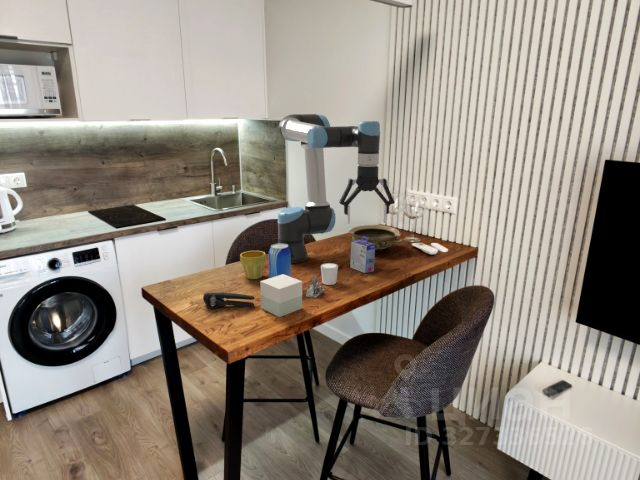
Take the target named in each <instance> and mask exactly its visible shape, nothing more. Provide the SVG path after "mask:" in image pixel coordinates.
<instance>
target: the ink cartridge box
mask: <svg viewBox="0 0 640 480" xmlns="http://www.w3.org/2000/svg"><path fill="white" fill-rule="evenodd" d="M363 238H366V239H367V240H363ZM368 238H369V237H366V236H363V237H362V239H361V240H355V241H353V240H352V241H351V245H350V267H349V268H351V269H353V270H356V271H358V272H361V273H364V274H369V273H372V272H374V271H375V258H376V257H375V255H376V254H375V253H376V252H375V244H373V243H370V242H367V241H368Z"/></svg>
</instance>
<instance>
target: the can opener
mask: <svg viewBox="0 0 640 480" xmlns="http://www.w3.org/2000/svg"><path fill="white" fill-rule="evenodd" d="M202 298H203V302H204V304H205V305H206V306H207V307H208V308H210V309H217V308H219V307H222V306H233V307H244V308H248V307H249V308H251V307H254V306H255V303H254V302H252V301H253V300H255V299H256V297H255V296H254V295H249V294H243V293H233V292H224V291H220V292H206V293H204V294H203V297H202ZM241 300H242V301H241ZM243 300H248V301H243ZM250 301H251V302H250Z"/></svg>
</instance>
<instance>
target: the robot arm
mask: <svg viewBox="0 0 640 480" xmlns="http://www.w3.org/2000/svg"><path fill="white" fill-rule="evenodd" d="M380 124H381V123H380V122H379V121H377V120H373V121H370V120H361V121H359V123H358V126H356V125H347V126H345V125H343V126H331V125H330V121H329V119H328V118H327V117H326V115H323V114H317V113H315V114H314V113H313V114H312V113H311V114H309V113H308V114H307V113H306V114H300V113H299V114H298V113H297V114H295V113H294V114H293V113H292V114H288V115H287V116H285V117H283V118H282V119H281V120H280V121H279V124H278V128H277V129H278V134H279V136H280V137H281V138H283V140H287V141H288V142H289V141H291V142H300V146H301V147H302V148H303V150H304V161H305V174H306V175H305V177H306V190H307V202H306V204H305V205H304V208H303V207H301V206H292V207H286V208H283V209H281V210H280V211H279V212H278V214H277V231H278V232H277V238H278V243H277V244H279V243H282V244H287V245H288V248H289V249H290V251H291V264H298V263H302V262H305V261H307V260H308V259H309V253H308V250H307V248H306V244H305V239H304V238H305V236H311V235H318V234H321V235H322V234H326V233H327V234H328V233H330V232H332V231H333V230H334V228H335V225H336V219H337V217H336V213H335V210H334V208H332V207H331V204H330V203H329V202H328V201H327V190H326V188H327V187H326V175H325V174H326V172H325V171H326V169H325V159H324V158H325V154H324V152H325V151H324V148H325V149H328V148H357V165H358V166H357V173H356V174H357V177H356V179H354V178H348V182H347V185H346V187H345V190H344V192H343V193H342V195H341V197H340V199H339V204H340V205H341V206H343V214H344V215H346V224H348V225H350V223H351V206H350V204H351V203H352V202H353V200H354V199H355V198H356V197H357V196H358V194H360V193H361V192H373V191H374V192H375V194H377V196H378V197H379V198H380V199H381V200H382V202H383V203H384V204H382V216H381V217H382V223H383V224H386V223H387V215H389V213H390V206H391V205H392V204H395V200H394V197H393V196H392V195H393V194H392V193H391V190H390V189H389V187H388V181H387V179H386V178H384V177H382V178H381V179H380V178H379V166H378V165H379V163H380V162H379V160H380V143H381V142H380V140H381V127H380V126H381V125H380ZM355 184H356V185H357V187H356V188H355V189H354V190H353V191H352V192H351V194H350V196H349V197H348V195H349V193H350V191H351V189H352V187H353V186H354V185H355ZM379 184H380V185H381V186H382V187H383V189H384V192H385V195H386V196H387V198H386V197H385V196H384V194H383V193H382V192H381V191H380V189H379V188H378V185H379ZM347 197H348V198H347Z"/></svg>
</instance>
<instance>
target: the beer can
mask: <svg viewBox="0 0 640 480" xmlns="http://www.w3.org/2000/svg"><path fill="white" fill-rule="evenodd" d="M268 271H269V272H268V273H269V275H268V279H269V278H272V277H275V276H279V275H282V274H284V275H287V276H289V277H292V263H291V251H290V249H289V248H288V245H287V244H282V243H279V244H278V243H274V244H271V245H270V247H269V250H268Z"/></svg>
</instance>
